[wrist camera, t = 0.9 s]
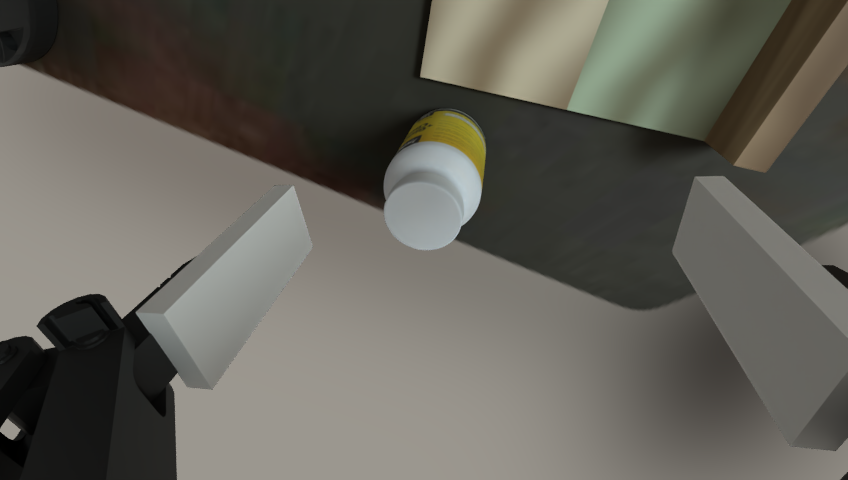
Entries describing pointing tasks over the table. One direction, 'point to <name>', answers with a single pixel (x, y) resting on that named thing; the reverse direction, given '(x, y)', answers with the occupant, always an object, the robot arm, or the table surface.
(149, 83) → the table surface
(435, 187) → the pill bottle
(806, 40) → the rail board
